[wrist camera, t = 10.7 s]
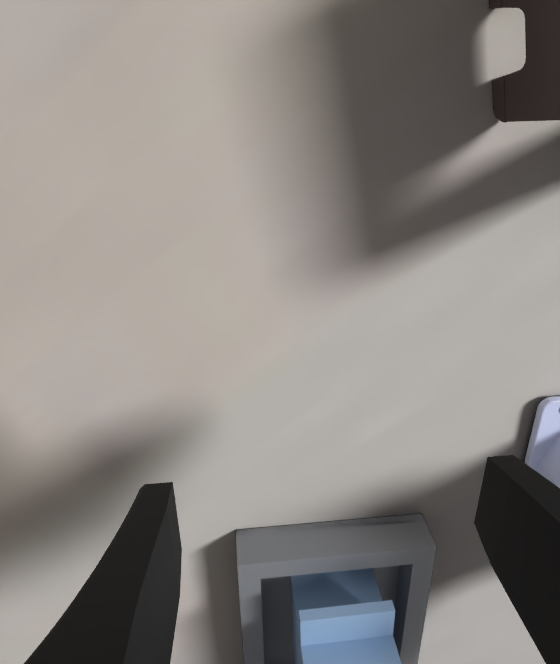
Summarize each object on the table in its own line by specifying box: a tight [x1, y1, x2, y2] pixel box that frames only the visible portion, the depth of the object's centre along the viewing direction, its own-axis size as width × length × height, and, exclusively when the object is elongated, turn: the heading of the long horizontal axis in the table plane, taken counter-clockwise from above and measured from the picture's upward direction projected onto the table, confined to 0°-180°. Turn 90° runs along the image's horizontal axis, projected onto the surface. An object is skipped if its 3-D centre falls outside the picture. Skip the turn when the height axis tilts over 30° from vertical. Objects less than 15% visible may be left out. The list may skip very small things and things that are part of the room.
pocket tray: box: [236, 514, 437, 664], centre depth 27 cm, size 9×11×2 cm
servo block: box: [291, 568, 402, 664], centre depth 25 cm, size 4×9×6 cm, turn 2°
